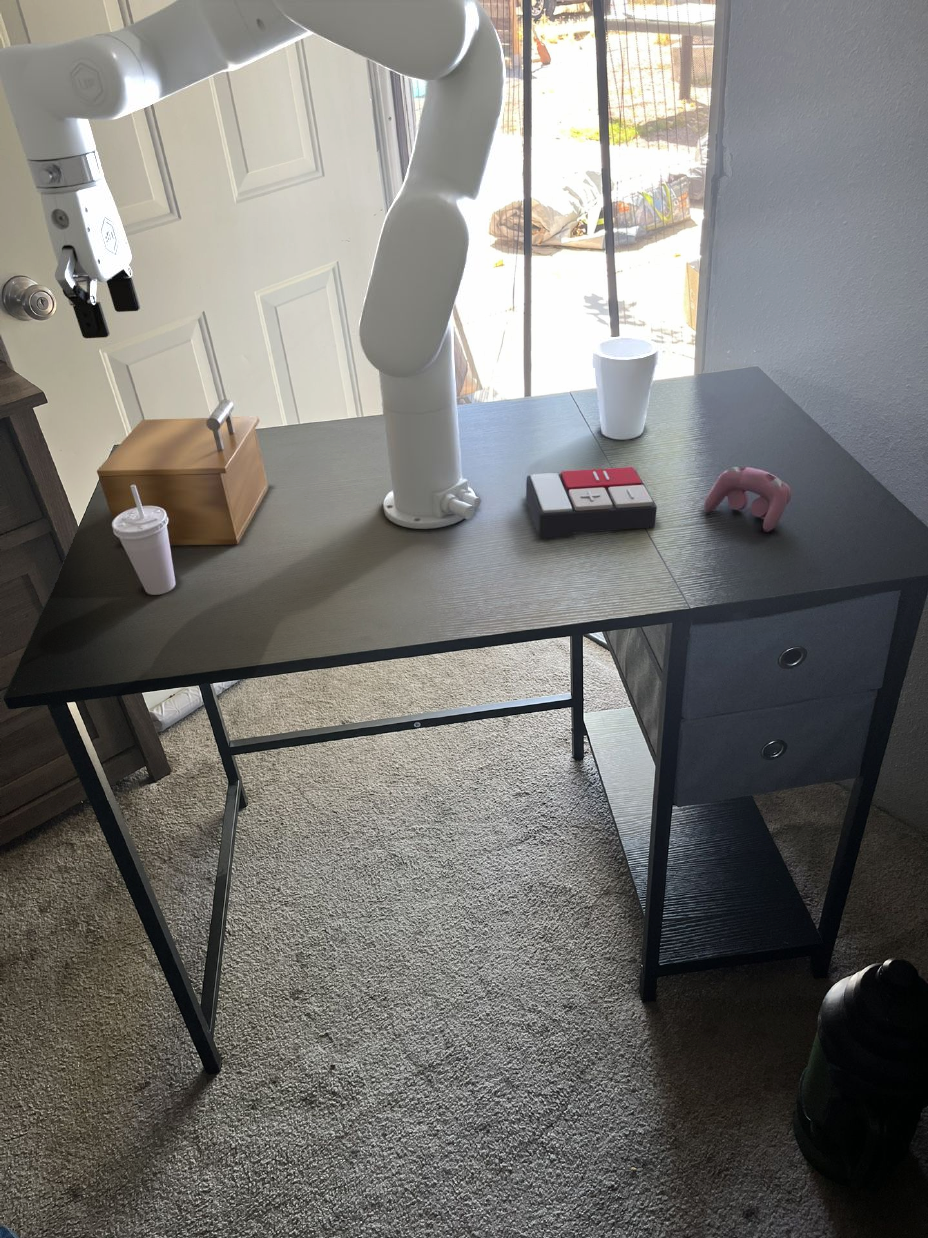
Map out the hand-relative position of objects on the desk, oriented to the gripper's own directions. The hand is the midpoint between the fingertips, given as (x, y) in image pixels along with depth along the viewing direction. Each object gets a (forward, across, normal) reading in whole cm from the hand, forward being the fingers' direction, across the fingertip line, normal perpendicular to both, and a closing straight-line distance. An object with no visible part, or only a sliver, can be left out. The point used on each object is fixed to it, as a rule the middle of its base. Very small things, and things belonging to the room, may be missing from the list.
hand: (113, 323), depth 113 cm
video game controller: (+28, -3, -78) cm, 83 cm away
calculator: (+28, -2, -58) cm, 65 cm away
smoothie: (+27, -18, -5) cm, 33 cm away
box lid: (+17, -1, -5) cm, 17 cm away
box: (+27, -1, -4) cm, 27 cm away
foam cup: (+28, +24, -64) cm, 74 cm away
